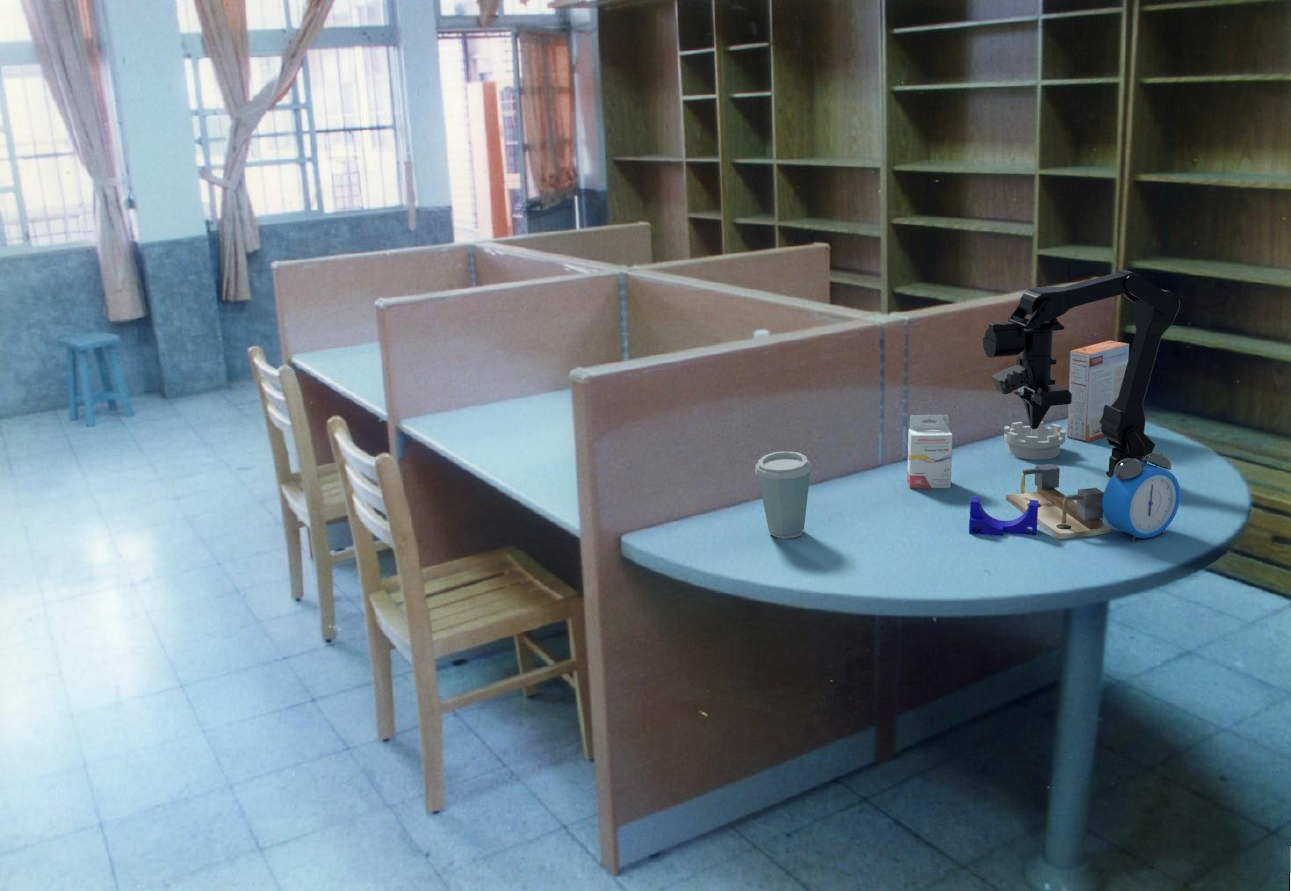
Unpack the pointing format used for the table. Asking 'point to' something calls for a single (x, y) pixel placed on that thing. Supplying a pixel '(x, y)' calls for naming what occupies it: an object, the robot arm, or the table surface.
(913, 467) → the ink cartridge box
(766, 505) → the disposable coffee cup
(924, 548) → the table surface
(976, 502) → the blue cradle bracket
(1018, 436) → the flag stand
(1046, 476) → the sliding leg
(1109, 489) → the alarm clock
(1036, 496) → the hole plate
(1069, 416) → the cracker box
